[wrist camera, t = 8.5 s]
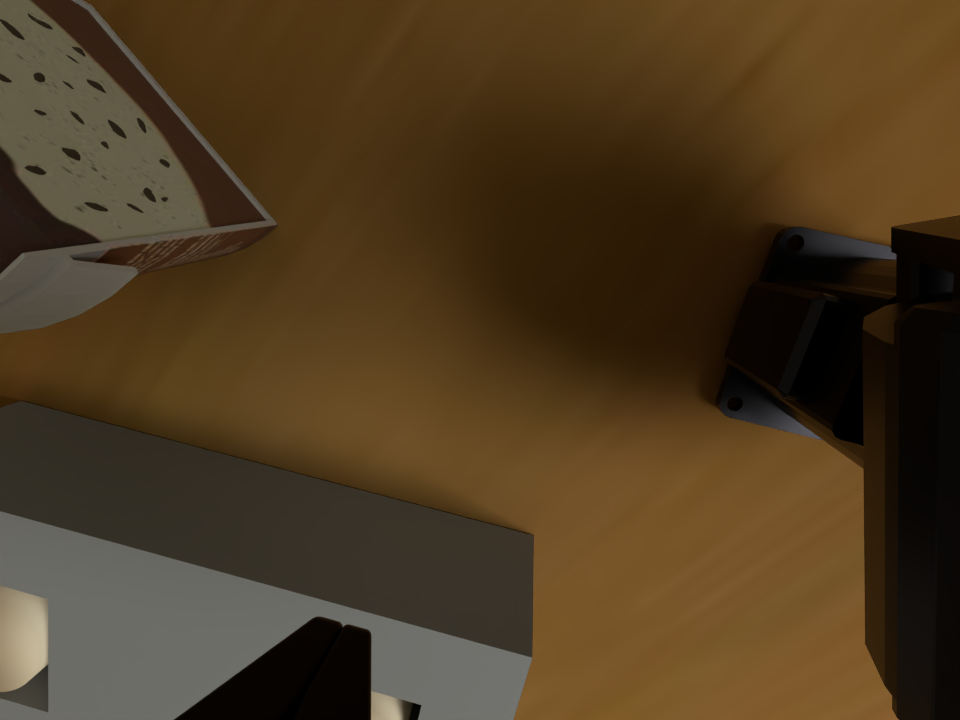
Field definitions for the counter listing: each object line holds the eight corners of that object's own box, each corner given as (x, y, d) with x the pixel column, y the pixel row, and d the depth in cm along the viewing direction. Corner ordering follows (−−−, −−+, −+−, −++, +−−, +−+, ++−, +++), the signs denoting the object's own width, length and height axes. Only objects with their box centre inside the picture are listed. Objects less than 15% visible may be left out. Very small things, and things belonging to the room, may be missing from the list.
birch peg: (171, 506, 21) (35, 606, 16) (166, 584, 22) (37, 705, 17) (84, 482, 22) (-82, 573, 16) (82, 561, 23) (-74, 672, 17)
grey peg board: (533, 535, 20) (531, 657, 14) (478, 726, 22) (458, 896, 17) (21, 400, 21) (-175, 463, 15) (24, 597, 24) (-143, 714, 18)
